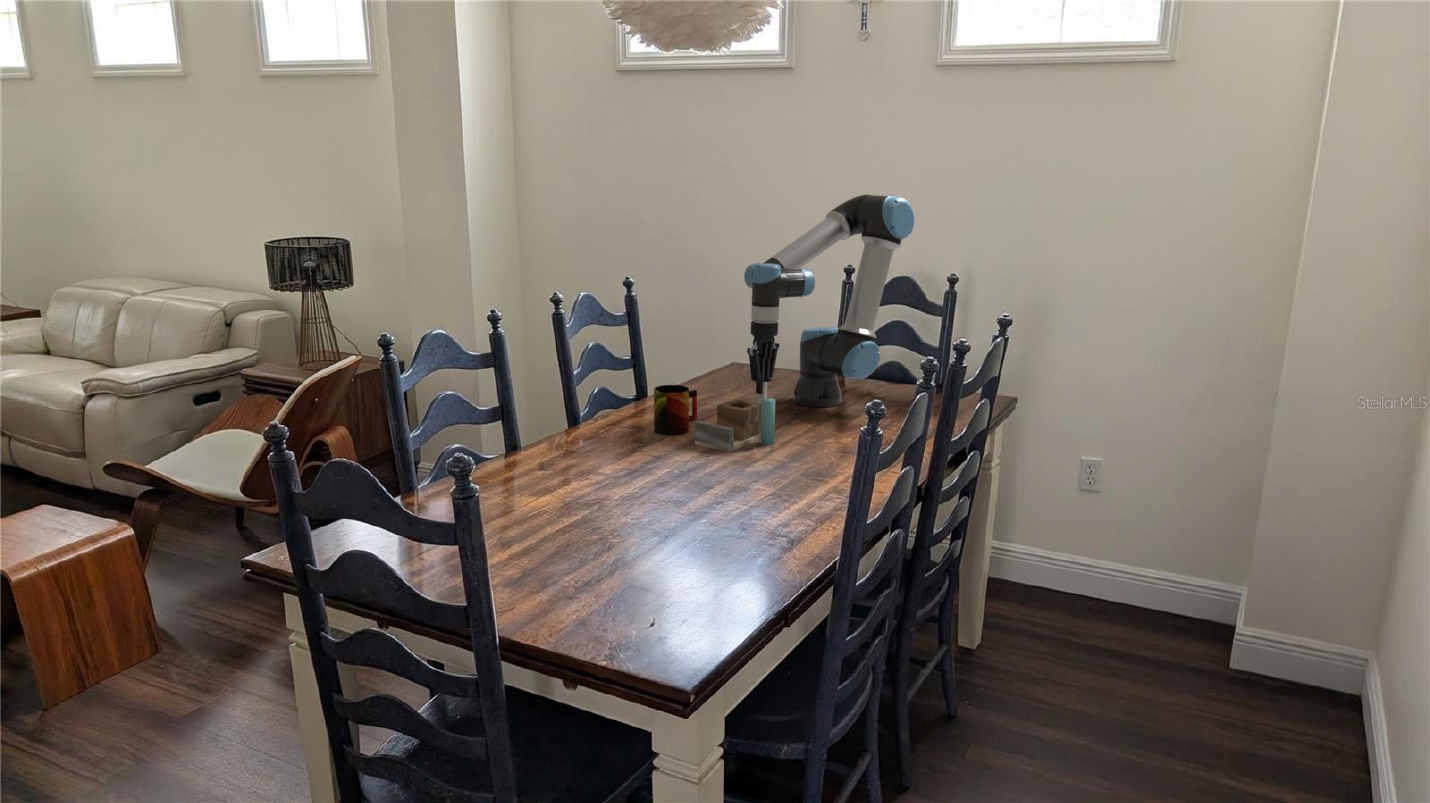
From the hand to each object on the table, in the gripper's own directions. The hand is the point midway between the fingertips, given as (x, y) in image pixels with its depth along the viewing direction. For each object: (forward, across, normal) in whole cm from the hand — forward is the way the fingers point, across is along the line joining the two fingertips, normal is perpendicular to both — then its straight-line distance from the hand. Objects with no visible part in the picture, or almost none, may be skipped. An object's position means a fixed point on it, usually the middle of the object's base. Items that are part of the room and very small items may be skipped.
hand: (761, 404), depth 279 cm
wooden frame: (+7, +14, 0) cm, 16 cm away
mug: (+8, +15, -19) cm, 25 cm away
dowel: (+7, +10, +9) cm, 16 cm away
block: (+6, +11, 0) cm, 12 cm away
